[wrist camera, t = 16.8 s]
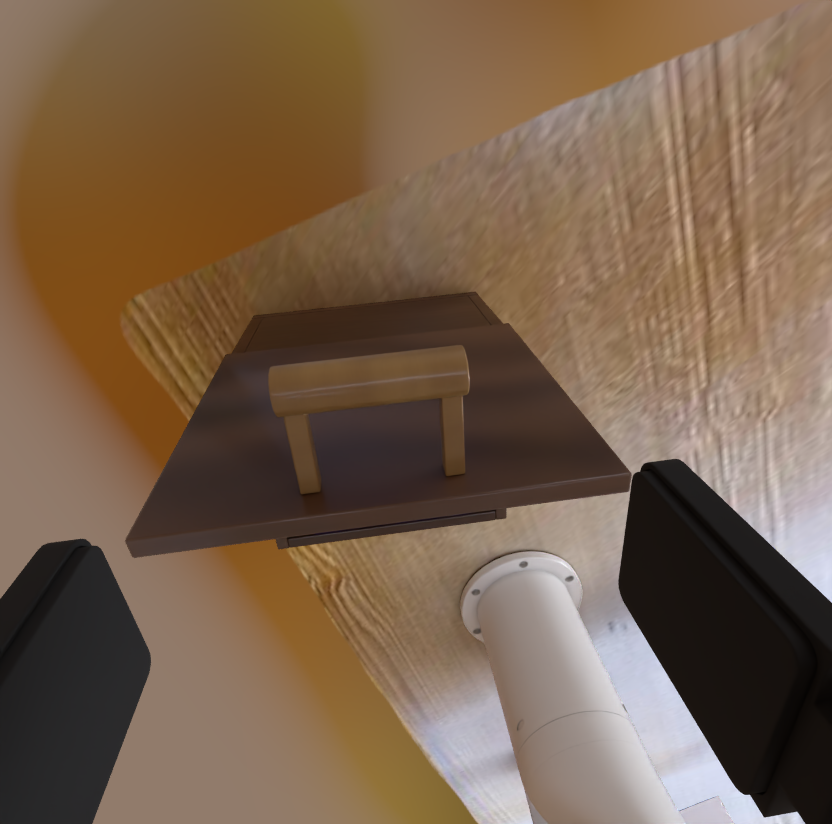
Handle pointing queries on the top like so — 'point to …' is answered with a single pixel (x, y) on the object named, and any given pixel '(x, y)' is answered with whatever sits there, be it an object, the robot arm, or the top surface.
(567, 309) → the top surface
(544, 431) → the lid
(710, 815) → the block
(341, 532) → the keepsake box
